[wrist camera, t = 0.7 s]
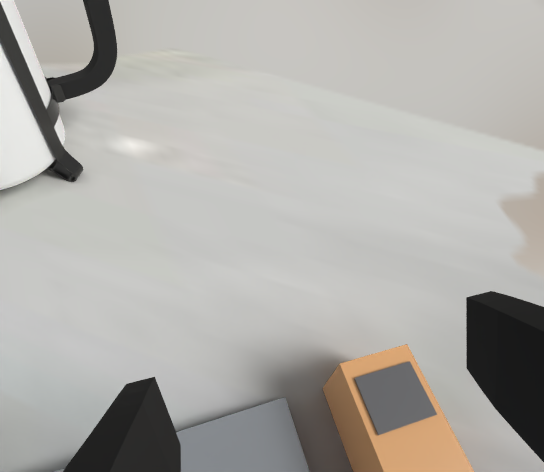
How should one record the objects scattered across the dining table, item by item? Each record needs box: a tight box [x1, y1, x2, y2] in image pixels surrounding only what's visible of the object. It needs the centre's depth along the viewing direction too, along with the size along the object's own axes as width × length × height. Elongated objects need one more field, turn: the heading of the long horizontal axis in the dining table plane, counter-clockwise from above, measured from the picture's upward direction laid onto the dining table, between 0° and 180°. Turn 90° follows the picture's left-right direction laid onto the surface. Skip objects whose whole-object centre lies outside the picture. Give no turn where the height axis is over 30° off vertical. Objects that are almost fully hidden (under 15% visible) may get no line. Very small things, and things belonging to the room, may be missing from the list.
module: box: [323, 344, 474, 472], centre depth 22 cm, size 8×4×5 cm, turn 17°
